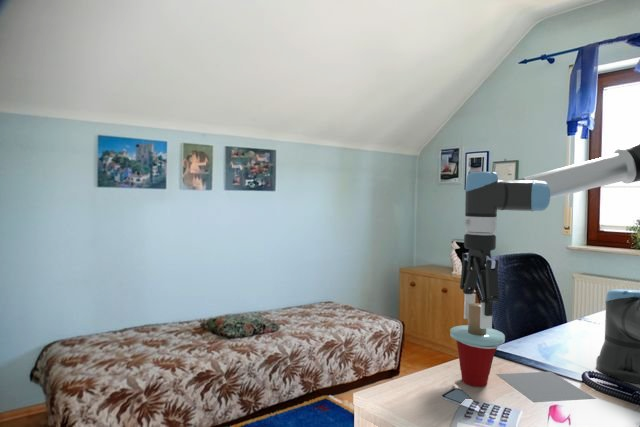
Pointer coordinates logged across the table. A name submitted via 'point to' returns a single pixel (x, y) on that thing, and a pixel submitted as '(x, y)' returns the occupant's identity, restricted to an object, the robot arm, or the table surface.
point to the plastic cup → (475, 363)
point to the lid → (476, 331)
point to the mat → (544, 386)
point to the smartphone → (455, 396)
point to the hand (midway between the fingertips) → (477, 323)
